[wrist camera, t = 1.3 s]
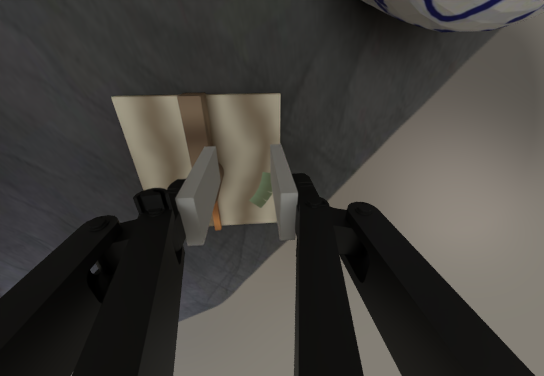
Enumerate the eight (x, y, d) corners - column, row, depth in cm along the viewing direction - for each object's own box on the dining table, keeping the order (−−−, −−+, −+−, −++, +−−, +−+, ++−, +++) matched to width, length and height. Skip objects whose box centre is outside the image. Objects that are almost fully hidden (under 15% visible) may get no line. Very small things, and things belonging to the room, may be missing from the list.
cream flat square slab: (159, 224, 40) (156, 229, 39) (116, 95, 29) (110, 97, 28) (278, 218, 42) (279, 222, 41) (279, 93, 31) (280, 94, 30)
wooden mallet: (231, 226, 40) (227, 254, 34) (206, 227, 39) (198, 256, 34) (213, 91, 28) (203, 99, 23) (179, 92, 28) (159, 99, 22)
